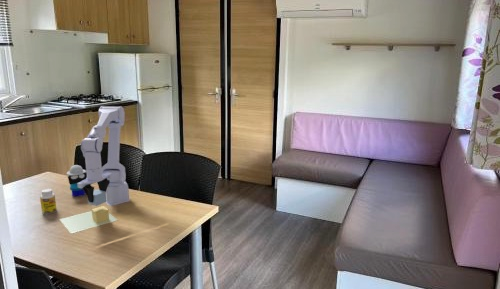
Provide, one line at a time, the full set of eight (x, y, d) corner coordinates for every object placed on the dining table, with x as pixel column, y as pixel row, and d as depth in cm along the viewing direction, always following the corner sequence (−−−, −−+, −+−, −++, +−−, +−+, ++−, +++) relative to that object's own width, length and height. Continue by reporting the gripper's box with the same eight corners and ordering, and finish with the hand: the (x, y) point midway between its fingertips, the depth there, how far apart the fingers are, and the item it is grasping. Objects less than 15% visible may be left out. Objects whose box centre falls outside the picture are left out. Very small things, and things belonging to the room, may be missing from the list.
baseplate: (103, 209, 165) (103, 207, 165) (117, 221, 154) (117, 220, 154) (59, 220, 154) (59, 219, 154) (71, 235, 142) (71, 233, 142)
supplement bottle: (43, 216, 158) (39, 193, 155) (41, 211, 162) (38, 189, 160) (57, 213, 161) (54, 191, 158) (56, 209, 165) (53, 187, 163)
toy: (69, 199, 175) (65, 169, 172) (68, 193, 183) (65, 163, 179) (89, 196, 179) (86, 166, 175) (87, 190, 187) (84, 161, 183)
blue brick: (98, 199, 155) (97, 189, 154) (106, 201, 153) (105, 191, 152) (87, 203, 151) (86, 192, 150) (96, 206, 149) (95, 195, 148)
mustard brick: (104, 215, 157) (103, 205, 156) (109, 219, 154) (108, 209, 153) (92, 219, 154) (91, 209, 153) (96, 223, 151) (95, 213, 149)
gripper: (102, 161, 156) (105, 191, 160) (70, 170, 144) (74, 203, 148) (113, 164, 153) (116, 195, 156) (82, 173, 141) (86, 207, 144)
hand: (97, 199), depth 152 cm, fingers closed on blue brick, 5 cm apart
